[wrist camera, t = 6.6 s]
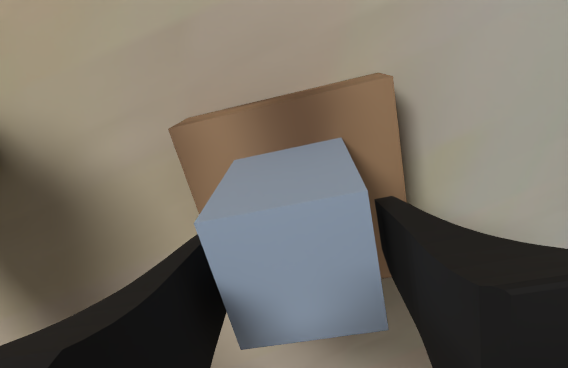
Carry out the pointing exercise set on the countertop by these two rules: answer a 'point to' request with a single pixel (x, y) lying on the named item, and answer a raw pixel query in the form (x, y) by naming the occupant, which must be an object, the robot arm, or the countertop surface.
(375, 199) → the robot arm
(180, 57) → the countertop surface
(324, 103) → the base
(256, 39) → the countertop surface
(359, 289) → the block
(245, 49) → the countertop surface
